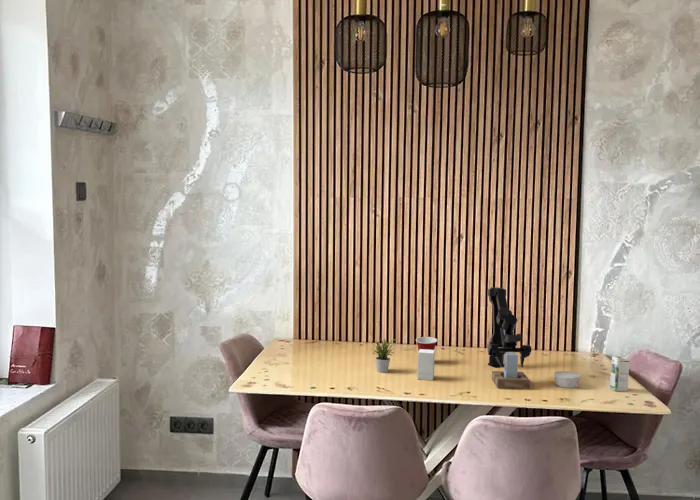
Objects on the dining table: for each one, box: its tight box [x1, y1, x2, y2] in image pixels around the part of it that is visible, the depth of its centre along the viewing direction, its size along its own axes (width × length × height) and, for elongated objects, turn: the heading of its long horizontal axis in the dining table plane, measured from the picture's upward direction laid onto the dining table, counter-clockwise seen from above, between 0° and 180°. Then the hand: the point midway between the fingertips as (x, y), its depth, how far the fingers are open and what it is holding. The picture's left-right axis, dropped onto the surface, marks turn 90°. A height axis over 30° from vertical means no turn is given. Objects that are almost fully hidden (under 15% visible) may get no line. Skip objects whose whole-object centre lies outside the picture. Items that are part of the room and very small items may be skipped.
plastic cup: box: [415, 336, 438, 352], centre depth 338 cm, size 11×11×12 cm
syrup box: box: [609, 355, 630, 392], centre depth 297 cm, size 6×6×14 cm
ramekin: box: [553, 370, 581, 389], centre depth 303 cm, size 11×11×5 cm
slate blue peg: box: [503, 352, 519, 378], centre depth 302 cm, size 5×5×13 cm
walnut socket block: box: [491, 370, 531, 390], centre depth 303 cm, size 14×14×4 cm
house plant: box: [371, 337, 397, 373], centre depth 320 cm, size 14×14×16 cm
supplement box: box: [416, 349, 436, 381], centre depth 310 cm, size 7×7×13 cm
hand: (511, 366), depth 301 cm, fingers open, 9 cm apart
